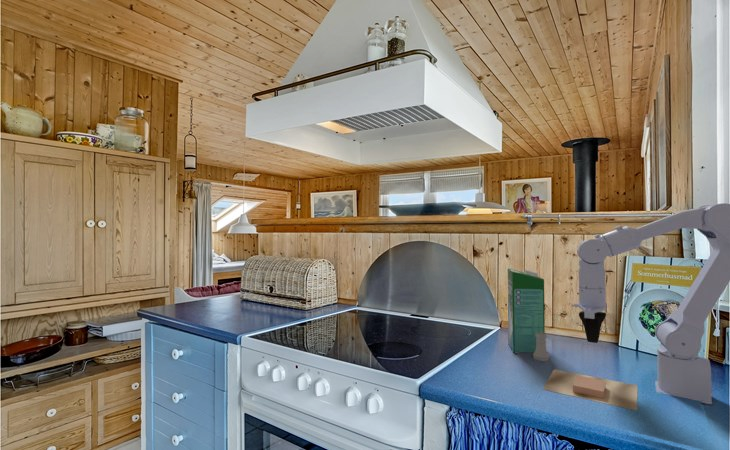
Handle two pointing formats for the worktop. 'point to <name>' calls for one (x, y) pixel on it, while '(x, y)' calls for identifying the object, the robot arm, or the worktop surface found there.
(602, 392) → the tile
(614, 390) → the wooden board
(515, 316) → the milk carton
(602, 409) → the worktop surface
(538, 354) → the rook chess piece
